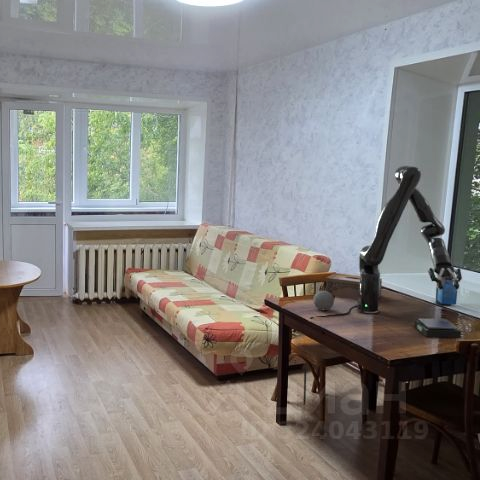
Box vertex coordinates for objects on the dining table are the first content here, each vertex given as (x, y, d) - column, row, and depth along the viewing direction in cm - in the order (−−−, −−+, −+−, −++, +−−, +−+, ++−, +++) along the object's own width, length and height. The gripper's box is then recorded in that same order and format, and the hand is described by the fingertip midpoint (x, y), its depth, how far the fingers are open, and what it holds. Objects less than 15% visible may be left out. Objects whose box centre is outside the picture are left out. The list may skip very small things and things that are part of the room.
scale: (425, 337, 226) (425, 330, 225) (413, 326, 240) (413, 320, 239) (460, 337, 224) (460, 331, 224) (446, 327, 238) (446, 320, 238)
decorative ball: (329, 314, 260) (330, 294, 259) (310, 310, 266) (310, 291, 265) (336, 309, 268) (337, 290, 266) (317, 306, 274) (317, 287, 272)
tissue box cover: (325, 294, 295) (326, 277, 294) (335, 289, 307) (335, 272, 305) (373, 302, 280) (374, 283, 278) (380, 296, 291) (381, 278, 289)
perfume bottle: (456, 304, 239) (458, 278, 237) (441, 303, 240) (443, 278, 238) (451, 300, 245) (453, 275, 243) (437, 299, 246) (439, 275, 244)
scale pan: (428, 328, 226) (428, 326, 226) (417, 320, 238) (417, 318, 238) (457, 329, 225) (457, 327, 225) (445, 320, 237) (445, 318, 237)
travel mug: (443, 306, 269) (445, 268, 266) (431, 302, 277) (434, 265, 273) (455, 305, 271) (457, 267, 268) (443, 301, 279) (446, 264, 275)
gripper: (427, 253, 247) (435, 284, 237) (459, 254, 245) (469, 284, 236) (422, 262, 253) (430, 292, 243) (453, 262, 251) (462, 293, 242)
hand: (449, 288), depth 240 cm, fingers closed on perfume bottle, 6 cm apart
